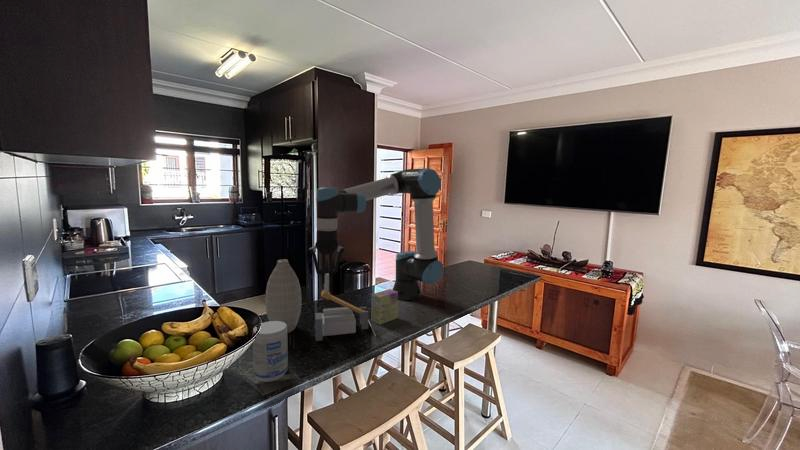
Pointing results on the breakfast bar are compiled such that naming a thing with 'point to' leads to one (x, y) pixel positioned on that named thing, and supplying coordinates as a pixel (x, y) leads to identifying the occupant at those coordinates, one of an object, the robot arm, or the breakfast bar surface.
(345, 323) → the base
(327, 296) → the strap
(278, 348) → the supplement tub
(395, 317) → the box
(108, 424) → the breakfast bar surface
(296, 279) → the vase
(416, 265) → the robot arm
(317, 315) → the lock
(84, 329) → the breakfast bar surface
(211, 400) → the breakfast bar surface
